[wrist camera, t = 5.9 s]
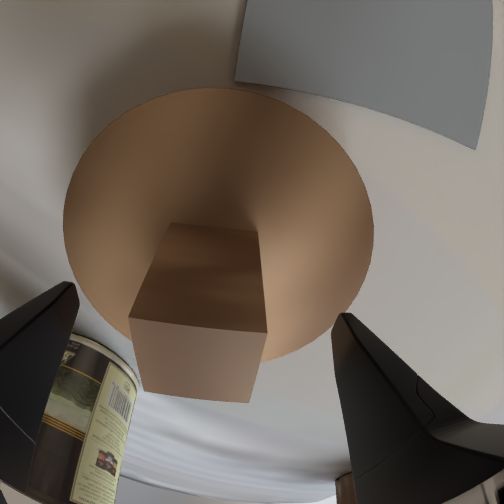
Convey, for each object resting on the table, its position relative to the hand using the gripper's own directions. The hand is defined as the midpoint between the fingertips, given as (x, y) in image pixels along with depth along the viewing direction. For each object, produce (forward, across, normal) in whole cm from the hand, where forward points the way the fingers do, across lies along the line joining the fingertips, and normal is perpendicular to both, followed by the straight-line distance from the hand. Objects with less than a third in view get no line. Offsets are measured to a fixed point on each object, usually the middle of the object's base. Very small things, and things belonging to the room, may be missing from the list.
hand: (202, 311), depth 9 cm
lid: (+4, 0, 0) cm, 4 cm away
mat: (+7, -7, -14) cm, 17 cm away
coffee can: (+7, +11, +16) cm, 21 cm away
